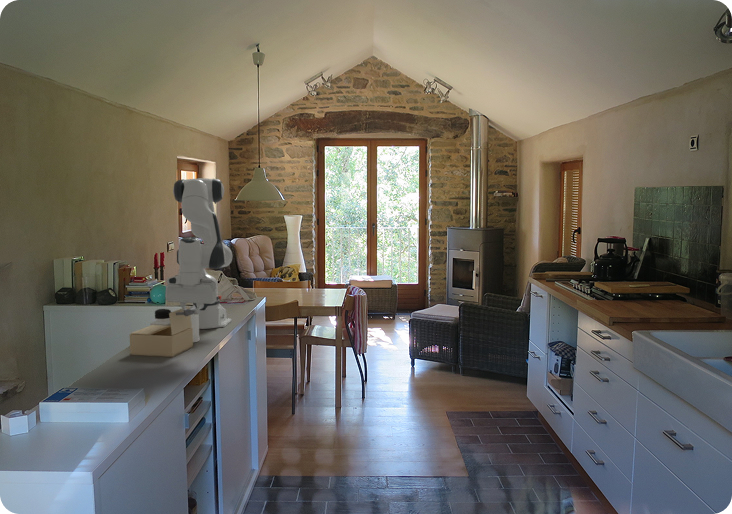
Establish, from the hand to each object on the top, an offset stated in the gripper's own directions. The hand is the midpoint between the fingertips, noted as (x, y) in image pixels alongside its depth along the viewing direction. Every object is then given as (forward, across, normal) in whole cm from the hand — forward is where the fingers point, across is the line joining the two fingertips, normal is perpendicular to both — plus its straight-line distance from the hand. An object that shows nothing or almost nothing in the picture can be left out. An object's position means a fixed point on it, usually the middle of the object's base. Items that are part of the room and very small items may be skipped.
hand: (191, 314), depth 227 cm
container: (+16, +23, -18) cm, 33 cm away
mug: (+16, +10, -16) cm, 25 cm away
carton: (+15, +13, 0) cm, 20 cm away
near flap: (+3, +5, 0) cm, 6 cm away
